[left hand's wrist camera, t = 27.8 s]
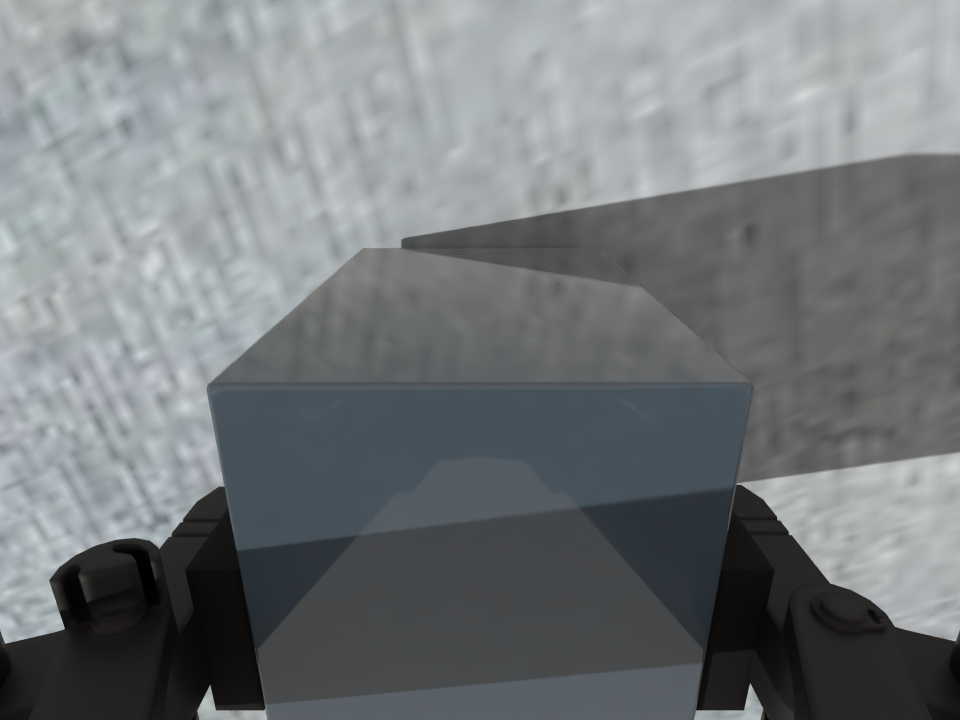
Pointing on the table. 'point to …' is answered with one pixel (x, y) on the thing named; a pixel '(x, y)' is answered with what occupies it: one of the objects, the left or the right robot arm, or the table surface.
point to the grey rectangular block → (480, 491)
